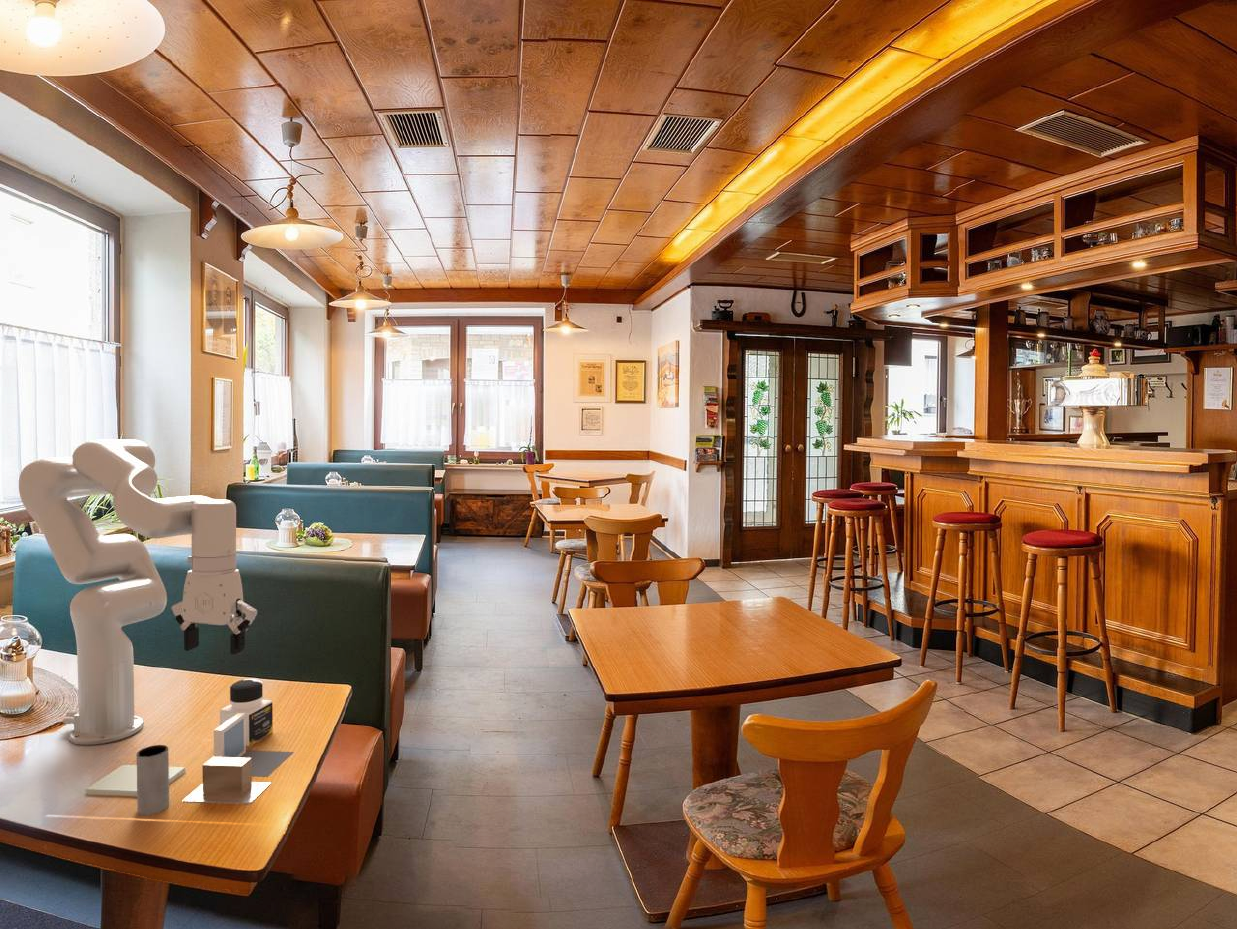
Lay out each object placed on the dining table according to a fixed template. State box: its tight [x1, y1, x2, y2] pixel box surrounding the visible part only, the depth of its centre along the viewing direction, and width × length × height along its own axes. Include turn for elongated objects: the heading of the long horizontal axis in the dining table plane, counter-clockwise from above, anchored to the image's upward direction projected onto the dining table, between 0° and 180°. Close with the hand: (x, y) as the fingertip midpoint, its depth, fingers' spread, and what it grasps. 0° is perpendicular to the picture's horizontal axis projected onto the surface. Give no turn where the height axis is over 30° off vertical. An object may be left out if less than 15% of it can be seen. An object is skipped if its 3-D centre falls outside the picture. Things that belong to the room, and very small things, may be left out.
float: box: [181, 756, 272, 805], centre depth 127 cm, size 12×7×6 cm, turn 89°
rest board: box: [85, 764, 186, 797], centre depth 130 cm, size 12×9×1 cm
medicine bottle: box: [219, 678, 274, 747], centre depth 149 cm, size 7×7×12 cm
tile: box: [213, 713, 247, 757], centre depth 138 cm, size 2×8×8 cm, turn 178°
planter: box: [136, 744, 170, 816], centre depth 122 cm, size 4×4×10 cm
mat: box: [241, 749, 295, 778], centre depth 138 cm, size 12×10×1 cm
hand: (214, 650), depth 139 cm, fingers open, 9 cm apart
